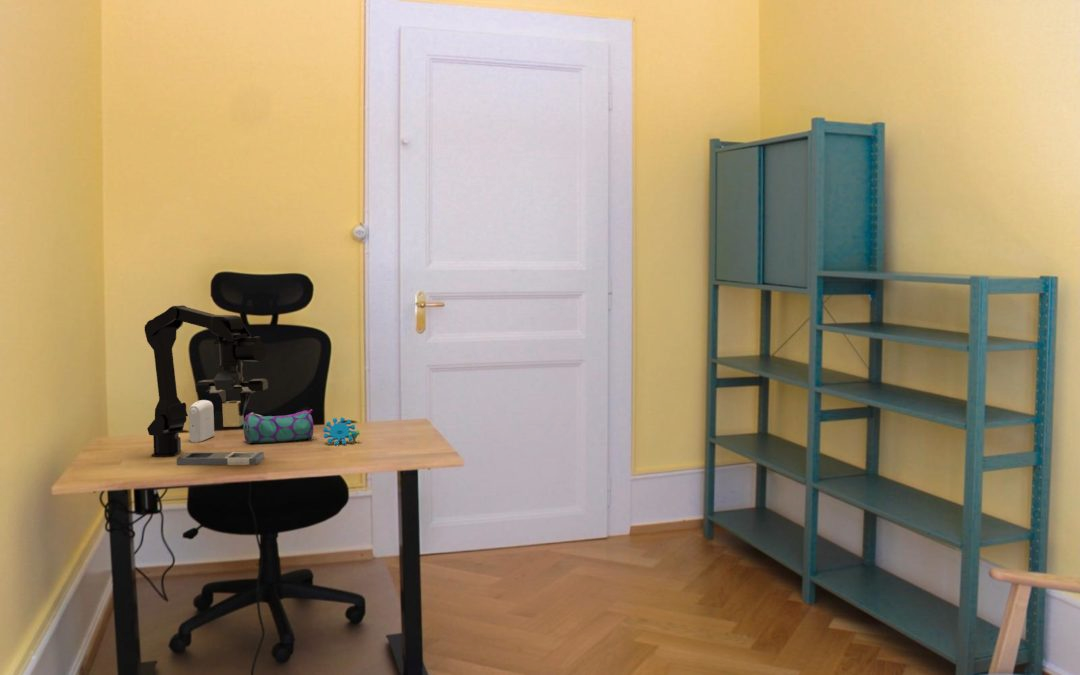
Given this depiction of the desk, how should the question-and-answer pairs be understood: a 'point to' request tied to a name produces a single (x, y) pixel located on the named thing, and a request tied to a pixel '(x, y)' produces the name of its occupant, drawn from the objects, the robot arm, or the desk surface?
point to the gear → (340, 431)
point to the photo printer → (201, 421)
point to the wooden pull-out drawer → (232, 414)
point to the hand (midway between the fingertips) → (233, 415)
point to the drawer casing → (220, 458)
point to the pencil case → (278, 427)
